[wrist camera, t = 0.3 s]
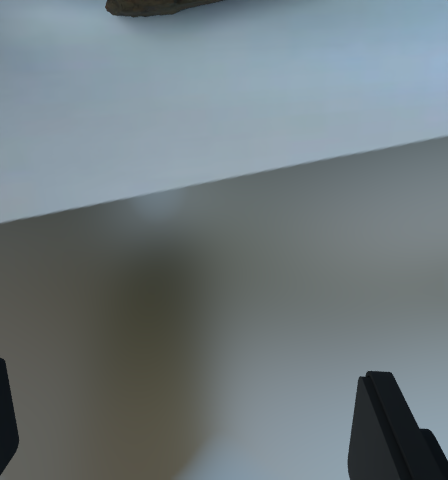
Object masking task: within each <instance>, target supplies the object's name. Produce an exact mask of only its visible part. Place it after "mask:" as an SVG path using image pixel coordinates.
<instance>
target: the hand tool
mask: <svg viewBox="0 0 448 480" xmlns="http://www.w3.org/2000/svg"><path fill="white" fill-rule="evenodd" d="M219 1H223V0H107V3H106V6H105V8H106V9H107V11H108V12H110V13H111V14H112V15H116V16H131V17H138V16H144V17H147V16H154V15H167V14H174V13H177V12H179V11H181V10H183V9H186V8H191V7H196V6H200V5H205V4H210V3H214V2H219Z"/></svg>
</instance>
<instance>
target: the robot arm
mask: <svg viewBox="0 0 448 480" xmlns="http://www.w3.org/2000/svg"><path fill="white" fill-rule="evenodd" d="M355 401H356V402H355V408H354V416H353V423H352V430H351V438H350V445H349V453H348V473H349V477H350V480H448V460H447V459H446V457H445V455H444V453H443V451H442V449H441V447H440V445H439V444H438V441H437V440H436V438H435V436H434V435H433V433H432V432H431V431H430V430H429V429H419V427H418V425H417V423H416V421H415V419H414V417H413V415H412V413H411V411H410V409H409V407H408V405H407V403H406V401H405V398H404V396H403V395H402V392H401V390H400V388H399V386H398V384H397V382H396V380H395V378H394V376H393V374H392V373H390V372H379V371H368V372H367V373H366V377H361V376H360V377H359V380H358V386H357V393H356V400H355ZM18 444H19V436H18V430H17V424H16V419H15V413H14V408H13V402H12V396H11V391H10V385H9V380H8V374H7V369H6V363H5V360H4V359H2V358H0V475H1V474H2V472H3V470H4V469H5V468H6V466H7V465H8V463H9V461H10V460H11V458H12V457H13V456H14V454H15V452H16V450H17V448H18Z"/></svg>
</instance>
